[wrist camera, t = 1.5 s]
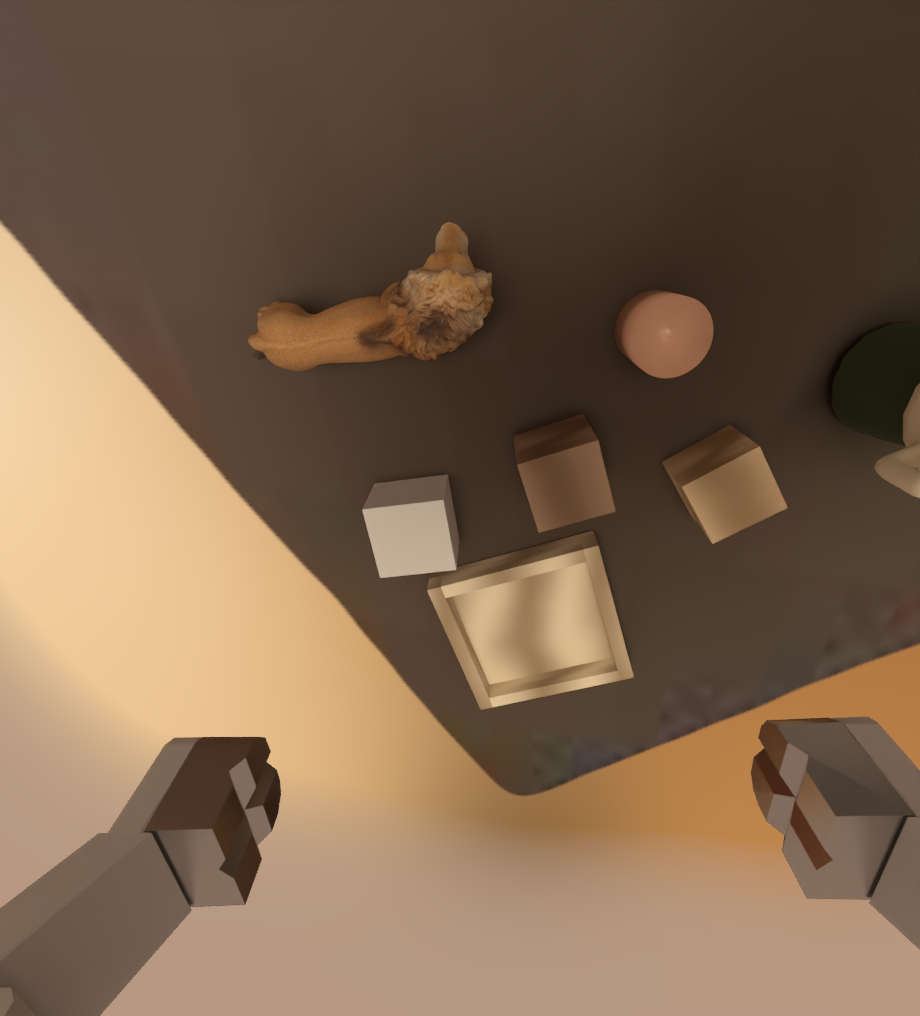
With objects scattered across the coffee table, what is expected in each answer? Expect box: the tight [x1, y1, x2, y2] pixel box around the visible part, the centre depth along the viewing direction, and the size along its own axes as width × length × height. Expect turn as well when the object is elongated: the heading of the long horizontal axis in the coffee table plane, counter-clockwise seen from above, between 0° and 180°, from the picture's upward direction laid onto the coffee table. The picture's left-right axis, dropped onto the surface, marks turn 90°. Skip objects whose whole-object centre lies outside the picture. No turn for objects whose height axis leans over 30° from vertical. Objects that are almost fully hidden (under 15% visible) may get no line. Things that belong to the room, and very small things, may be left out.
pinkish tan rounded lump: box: [614, 289, 714, 378], centre depth 28 cm, size 4×4×4 cm
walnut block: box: [513, 414, 616, 533], centre depth 31 cm, size 4×4×5 cm
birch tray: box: [427, 531, 634, 710], centre depth 38 cm, size 12×12×2 cm
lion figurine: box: [248, 222, 494, 371], centre depth 26 cm, size 15×5×9 cm, turn 109°
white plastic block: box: [362, 474, 459, 578], centre depth 34 cm, size 5×5×4 cm
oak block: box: [662, 425, 788, 544], centre depth 32 cm, size 4×4×4 cm
